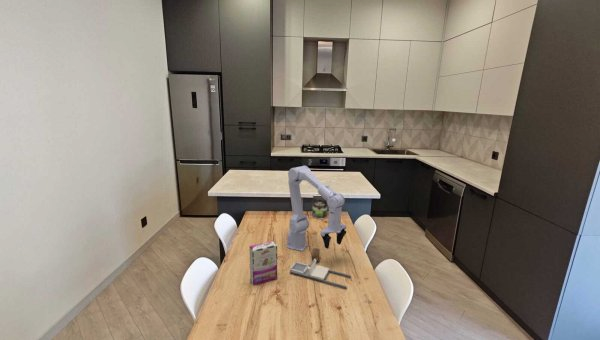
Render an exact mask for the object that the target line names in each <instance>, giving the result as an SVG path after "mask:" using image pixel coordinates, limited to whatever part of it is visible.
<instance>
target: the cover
mask: <svg viewBox="0 0 600 340" xmlns="http://www.w3.org/2000/svg"><path fill="white" fill-rule="evenodd" d="M309 265H310V266H309V267H308V270H307V276H310V277H314V278H317V279H321V280H324V279H325V277H326V275H327V273H328V271H329V270H330V268H329V267H326V266H322V265H319V264H317V263H316V259H314V260H313V261H312V260H311V262H310V263H309Z"/></svg>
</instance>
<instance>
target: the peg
mask: <svg viewBox="0 0 600 340" xmlns="http://www.w3.org/2000/svg"><path fill="white" fill-rule="evenodd" d="M320 253H321V250H320V248H316V247H315V248H312V249H311V262H312V261H313V260H314V259H316V264H318V263H319V262H320Z"/></svg>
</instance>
